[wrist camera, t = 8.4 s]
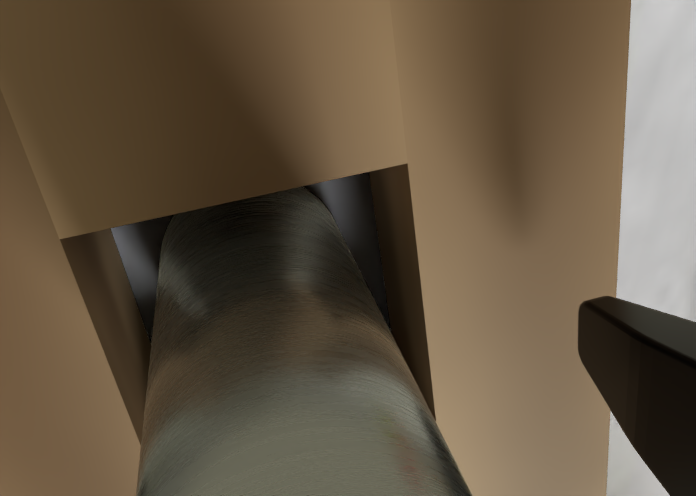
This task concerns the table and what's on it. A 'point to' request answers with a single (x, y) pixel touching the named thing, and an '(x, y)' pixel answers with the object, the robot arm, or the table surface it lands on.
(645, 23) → the table surface
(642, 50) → the table surface
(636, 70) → the table surface
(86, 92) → the hole block
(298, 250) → the long pin
